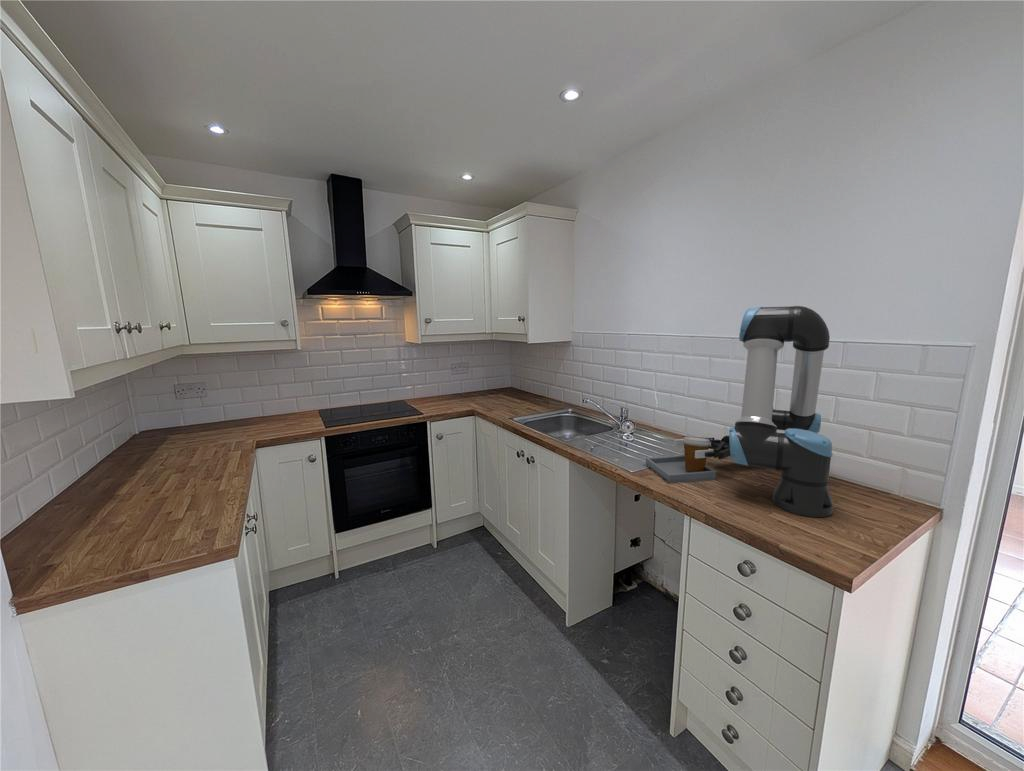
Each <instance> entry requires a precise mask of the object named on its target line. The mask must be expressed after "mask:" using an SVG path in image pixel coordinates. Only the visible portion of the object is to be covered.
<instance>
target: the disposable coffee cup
mask: <svg viewBox="0 0 1024 771" xmlns="http://www.w3.org/2000/svg"><path fill="white" fill-rule="evenodd" d="M700 437H701V436H684V437H683V439H684V440H683V443H684V446H683V447H684V448H683V451H684V455H685V469H686V470H688V471H692V472H704V468H705V465H706V462H707V459H708V458H695V451H698V450H710V448H709V446H711V445H710V444H711V443H710V440H709V439H705V438H706V437H703V438H700Z"/></svg>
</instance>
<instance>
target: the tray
mask: <svg viewBox="0 0 1024 771" xmlns="http://www.w3.org/2000/svg"><path fill="white" fill-rule="evenodd" d="M646 465H647V466H649V467H650V468H649V469H650V470H651V469H652V470H653V471H652V470H651V471H652V472H653V473H655V474H656V473H657V474H658V475H657V474H656V475H657V476H658V477H660V476H661V477H662V478H661V477H660V478H661V479H662V480H664V479H665V480H666V481H667V483H668V482H669V483H668V484H677V482H681V483H687V482H688V483H689V482H690V483H692V482H693V483H694V482H701V481H702V482H704V481H715V480H717V471H716V470H714V469H713V468H710V467H709V466H707V465H706V464H705V468H704V472H692V471H688V470H686V469H685V454H684V455H672V456H671V455H670V456H659V457H658V456H657V457H646V458H645V466H646ZM647 466H646V467H647ZM665 480H664V481H665ZM666 481H665V482H666Z"/></svg>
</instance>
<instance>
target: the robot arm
mask: <svg viewBox="0 0 1024 771" xmlns="http://www.w3.org/2000/svg"><path fill="white" fill-rule="evenodd" d="M738 334H739V336H738V339H739V341H740V342H742V343H743V345H742V346H743V347H744V348H745V349H746V350H747V355H746V356H747V357H746V366H745V375H744V384H743V395H742V396H743V397H742V403H741V404H742V405H741V416H740V418H739V419H737V420H736V421H735V423H734V426H731V427H729V430H728V431H729V435H724V436H722V438H721V439H715V437H701V436H699V437H700V438H705V439H709V440H710V443H711V444H710V446H709V449H708V450H698V451H695V458H707V459H708V458H715V459H716V458H718V460H723V459H726V458H728V457H730V458H731V460H732V462H733V463H735V464H738V465H743V466H746V467H756V468H763V469H768V470H775V471H780V472H781V476H780V479H779V481H778V483H777V484H776V487H775V488H774V490H773V493H772V503H773V504H774V505H776V506H777V507H778V508H780V509H782V510H784V511H786V512H789V513H791V514H796V515H799V516H804V517H810V518H825V517H826V518H827V517H829V516H831V515H832V514H833V512H834V503H833V499H832V496H831V492H830V489H829V479H830V470H831V460H832V457H833V453H832V452H833V443H832V441H831V440H830V439H829V438H828V437H826V436H824V435H822V434H821V433H820V431H821V422H822V415H821V414H820V413H817V412H816V410H817V402H818V396H819V388H820V382H821V381H820V380H821V375H822V367H823V361H824V360H823V359H824V353H825V351H826V350H827V349H828V348H829V346H830V341H831V340H830V331H829V328H828V326H827V323H826V322H825V320H824V318H823V317H822V316H821V315H820V313H817V311H815V310H813V309H811V308H809V307H807V306H803V305H794V306H793V305H792V306H759V307H750V308H748V309H747V310H746V311H744V314H743V317H742V320H741V324H740V330H739V333H738ZM787 342H789V343H791V342H792V347H793V349H794V350H795V354H794V355H795V357H794V365H793V366H794V367H793V376H792V383H791V384H792V386H791V395H790V404H789V410H782V409H774V399H775V398H774V397H775V389H776V386H775V385H776V379H777V377H776V376H777V364H778V352H779V351H780V350H782V349H783V348H784V346H785V343H787ZM777 431H784V432H777ZM683 440H684V438H680V439H674V448H678V447H684V443H683Z"/></svg>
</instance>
